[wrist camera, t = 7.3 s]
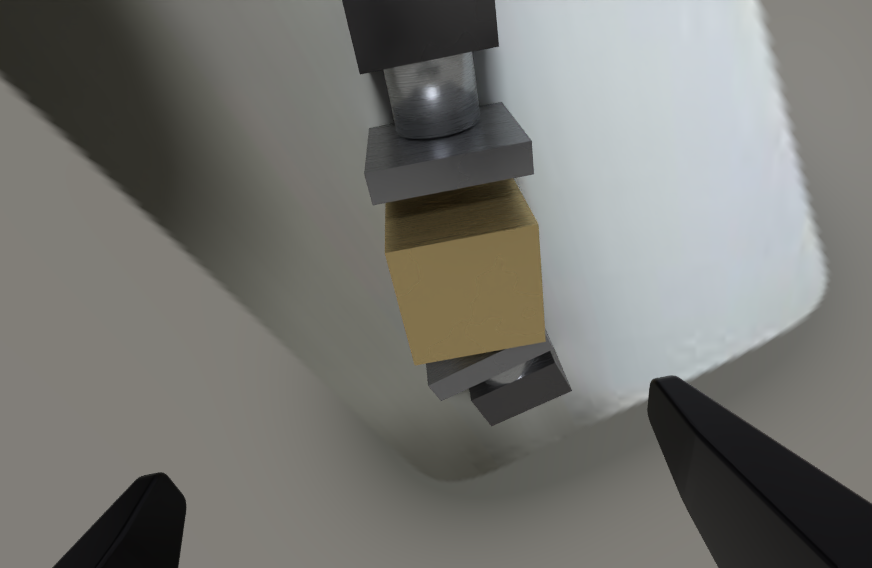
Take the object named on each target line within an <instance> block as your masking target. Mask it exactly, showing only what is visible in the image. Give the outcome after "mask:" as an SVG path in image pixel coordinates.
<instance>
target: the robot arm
mask: <svg viewBox="0 0 872 568" xmlns="http://www.w3.org/2000/svg"><path fill="white" fill-rule="evenodd" d="M647 411H648V417H649V420H650V423H651V426H652V428H653V431H654V433H655V435H656V438H657V440H658V442H659V445H660V447H661V450H662V452H663V455H664V457H665V460H666V462H667V465H668V467H669V469H670V472H671V474H672V476H673V479H674V481H675V484H676V486H677V489H678V491H679V493H680V496H681V498H682V500H683V502H684V504H685V506H686V508H687V510H688V512H689V514H690V516H691V518H692V520H693V521H694V523H695V525H696V527H697V529H698V531H699V533H700V534H701V536H702V538H703V540H704V542H705V544H706V546H707V547H708V549H709V551H710V553H711V555H712V556H713V558H714V560H715V562H716V564H717V566H718V568H872V503H870V502H868V501H867V500H865V499H864V498H862V497H861V496H859V495H858V494H856V493H855V492H853V491H852V490H850V489H849V488H847V487H845V486H844V485H842V484H841V483H839V482H838V481H836V480H835V479H833V478H832V477H830V476H829V475H827V474H825V473H824V472H823V471H821V470H820V469H818V468H817V467H815V466H813V465H812V464H810V463H809V462H807V461H806V460H804V459H803V458H801V457H800V456H798V455H797V454H795V453H793V452H792V451H790V450H789V449H787V448H786V447H784V446H783V445H781V444H780V443H778V442H777V441H775V440H774V439H772V438H771V437H769V436H768V435H766V434H765V433H763V432H761V431H760V430H758V429H757V428H755V427H754V426H752V425H751V424H749V423H748V422H746V421H745V420H743V419H742V418H740V417H739V416H737V415H735V414H734V413H732V412H731V411H729V410H728V409H726V408H724V407H723V406H722V405H720V404H719V403H717V402H715V401H714V400H713V399H711V398H709V397H708V396H706V395H705V394H703V393H702V392H700V391H699V390H697V389H696V388H694V387H693V386H691V385H690V384H688V383H687V382H685V381H684V380H682V379H680V378H679V377H677V376H673V375H672V376H665V377H660V378H655V379H653V380H652V381H651V383H650V388H649V398H648V408H647ZM185 515H186V500H185V498H184V496H183V494H182V493H181V492H180V490H179V489H178V488H177V487H176V486H175V484H174V483H173V482H172V480H171V479H170V478H169V477H168V476H167V475H166V474H165V473H162V472H160V473H154V474H149V475H144V476H141V477H139V478H138V479H136V480H135V481H134V482H133V483H132V484H131V485H130V487H128V489H127V490H126V491H125V492H124V493H123V494H122V495H121V496H120V497H119V498H118V499H117V500H116V501H115V502H114V503H113V505H111V506H110V508H109V509H108V510H107V511H106V512H105V513H104V514H103V515H102V516H101V517H100V518H99V519H98V520H97V521H96V522H95V523H94V524H93V525H92V526H91V528H90V529H89V530H88V531H87V532H86V533H85V534H84V535H83V536H82V537H81V538H80V539H79V540H78V541H77V542H76V543H75V545H74V546H72V547H71V549H70V550H69V551H68V552H67V553H66V554H65V555H64V556H63V557H62V558H61V559H60V560H59V561H58V562H57V563H56V564H55V565H54V567H52V568H178V565H179V558H180V551H181V543H182V537H183V529H184V522H185Z"/></svg>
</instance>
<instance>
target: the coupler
mask: <svg viewBox="0 0 872 568" xmlns="http://www.w3.org/2000/svg"><path fill="white" fill-rule="evenodd" d="M385 256H386V259H387V263H388V267H389V271H390V274H391V278H392V282H393V286H394V289H395V293H396V297H397V301H398V304H399V308H400V312H401V316H402V319H403V323H404V327H405V331H406V334H407V338H408V342H409V346H410V349H411V353H412V357H413V361H414V364H415V365H420V364H426V363H431V362H437V361H442V360H447V359H453V358H458V357H464V356H469V355H475V354H480V353H486V352H491V351H497V350H502V349H508V348H513V347H519V346H524V345H530V344H535V343H541V342H546V339H545V323H544V307H543V290H542V274H541V258H540V242H539V226H538V223H537V221H536V219H535V217H534V215H533V213H532V212H531V210H530V208H529V206H528V204H527V203H526V201H525V199H524V197H523V195H522V193H521V192H520V190H519V188H518V186H517V184H516V183H515V181H514V179H513V178H511V179H506V180H501V181H496V182H491V183H485V184H480V185H475V186H470V187H465V188H460V189H454V190H449V191H444V192H439V193H434V194H429V195H424V196H418V197H413V198H408V199H403V200H398V201H393V202H387V203H386V214H385Z"/></svg>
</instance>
